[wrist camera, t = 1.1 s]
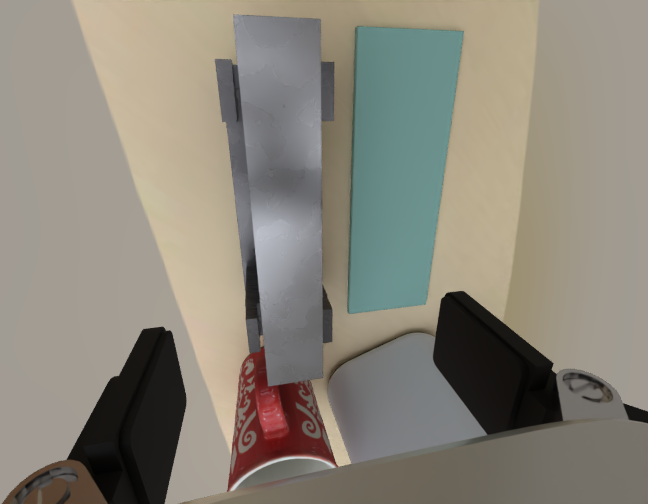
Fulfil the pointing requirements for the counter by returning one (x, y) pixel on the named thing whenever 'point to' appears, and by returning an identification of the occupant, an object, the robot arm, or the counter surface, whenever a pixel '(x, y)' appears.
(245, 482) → the mug
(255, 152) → the rail
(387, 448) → the plastic bottle
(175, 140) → the counter surface
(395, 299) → the mat
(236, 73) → the brackets
